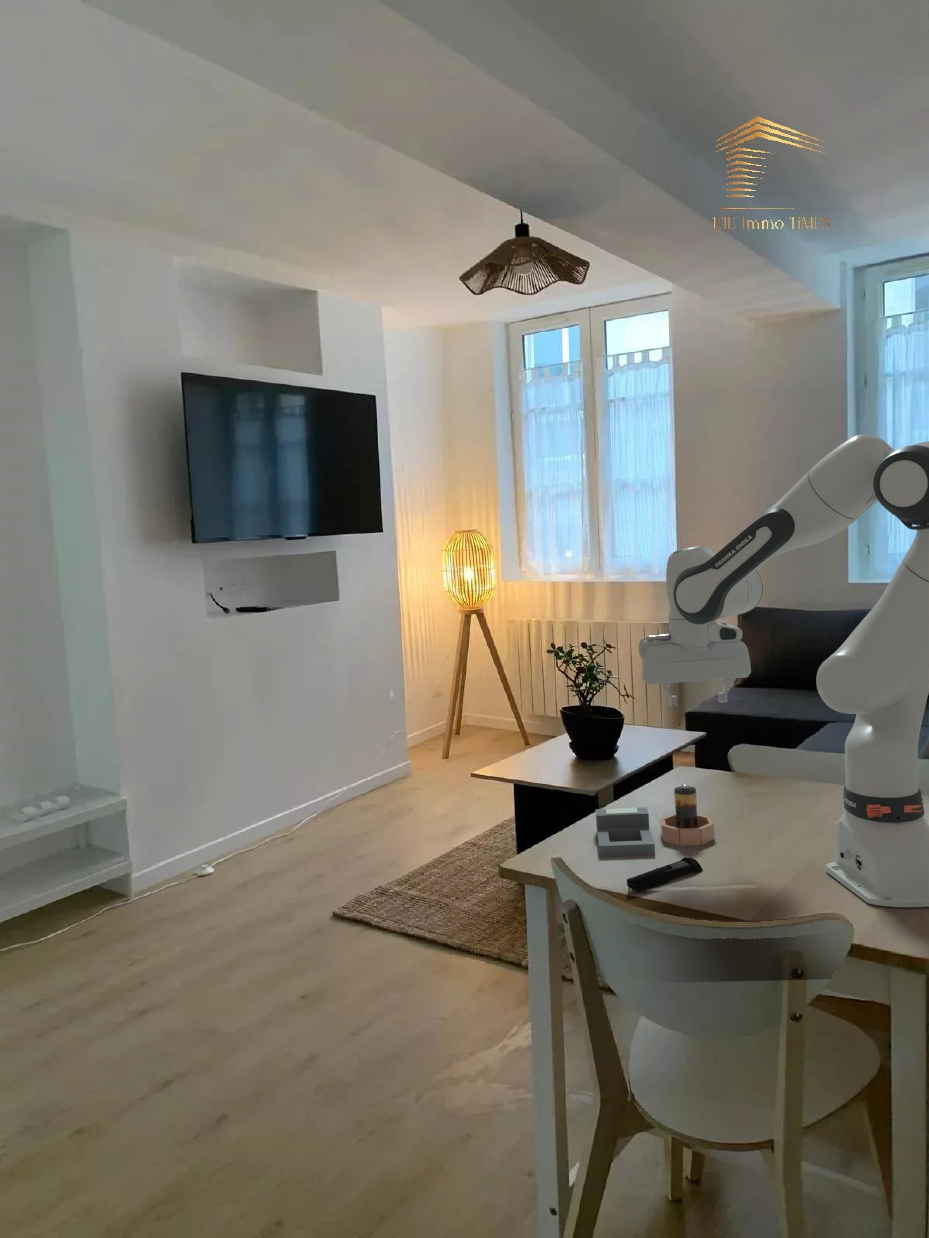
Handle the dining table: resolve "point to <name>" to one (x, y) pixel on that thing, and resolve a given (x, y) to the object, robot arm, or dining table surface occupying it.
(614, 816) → the grey charging dock
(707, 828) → the dish
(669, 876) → the electric trimmer
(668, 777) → the dining table surface
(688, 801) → the cell
